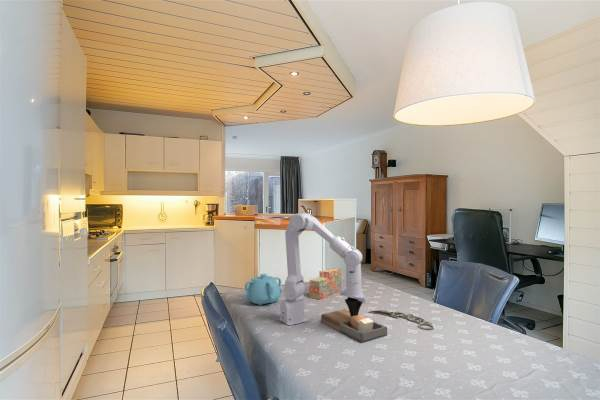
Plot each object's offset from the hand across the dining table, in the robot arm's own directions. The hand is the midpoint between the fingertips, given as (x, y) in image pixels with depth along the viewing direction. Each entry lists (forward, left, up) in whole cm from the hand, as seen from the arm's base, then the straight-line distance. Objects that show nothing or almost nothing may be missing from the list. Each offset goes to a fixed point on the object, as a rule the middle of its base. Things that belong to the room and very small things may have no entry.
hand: (354, 318), depth 125 cm
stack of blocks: (+19, +46, -5) cm, 50 cm away
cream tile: (0, -5, -1) cm, 5 cm away
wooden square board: (0, +7, -4) cm, 8 cm away
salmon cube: (0, -2, -2) cm, 3 cm away
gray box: (0, -5, -4) cm, 6 cm away
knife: (+24, -2, -5) cm, 24 cm away
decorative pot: (-14, +51, -4) cm, 53 cm away
